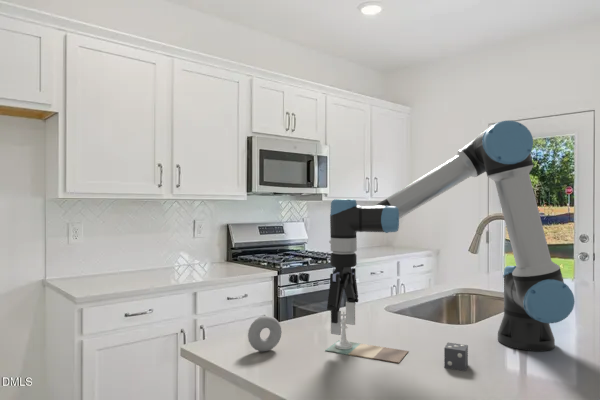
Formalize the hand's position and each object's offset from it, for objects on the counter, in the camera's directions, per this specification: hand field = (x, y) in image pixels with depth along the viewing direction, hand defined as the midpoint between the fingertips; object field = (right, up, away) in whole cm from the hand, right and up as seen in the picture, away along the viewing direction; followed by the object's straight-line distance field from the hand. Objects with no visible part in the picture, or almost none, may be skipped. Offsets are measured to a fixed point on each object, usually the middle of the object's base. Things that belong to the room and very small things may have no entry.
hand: (343, 329), depth 128 cm
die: (+27, -5, -14) cm, 31 cm away
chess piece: (0, -5, 0) cm, 5 cm away
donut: (-22, -6, -3) cm, 23 cm away
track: (+6, -5, -3) cm, 9 cm away
